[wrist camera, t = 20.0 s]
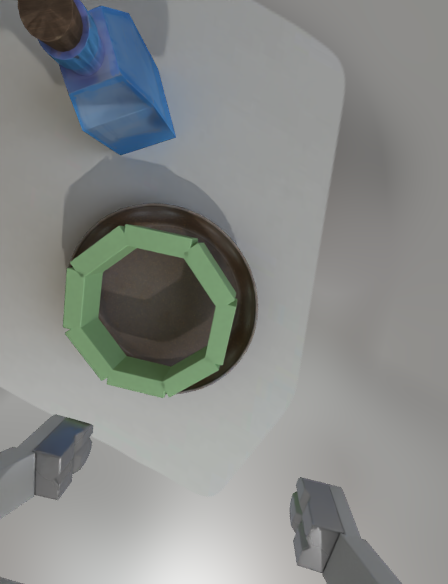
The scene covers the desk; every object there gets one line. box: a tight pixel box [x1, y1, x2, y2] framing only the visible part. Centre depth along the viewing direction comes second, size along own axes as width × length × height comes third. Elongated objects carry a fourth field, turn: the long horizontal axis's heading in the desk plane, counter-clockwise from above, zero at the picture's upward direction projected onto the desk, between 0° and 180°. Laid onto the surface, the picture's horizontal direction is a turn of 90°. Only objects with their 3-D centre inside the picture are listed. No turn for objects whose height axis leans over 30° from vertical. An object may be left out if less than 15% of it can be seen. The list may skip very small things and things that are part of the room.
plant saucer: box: [65, 203, 258, 394], centre depth 27 cm, size 21×21×3 cm
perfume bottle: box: [18, 0, 176, 155], centre depth 19 cm, size 6×6×12 cm
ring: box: [63, 224, 237, 398], centre depth 24 cm, size 16×16×3 cm
